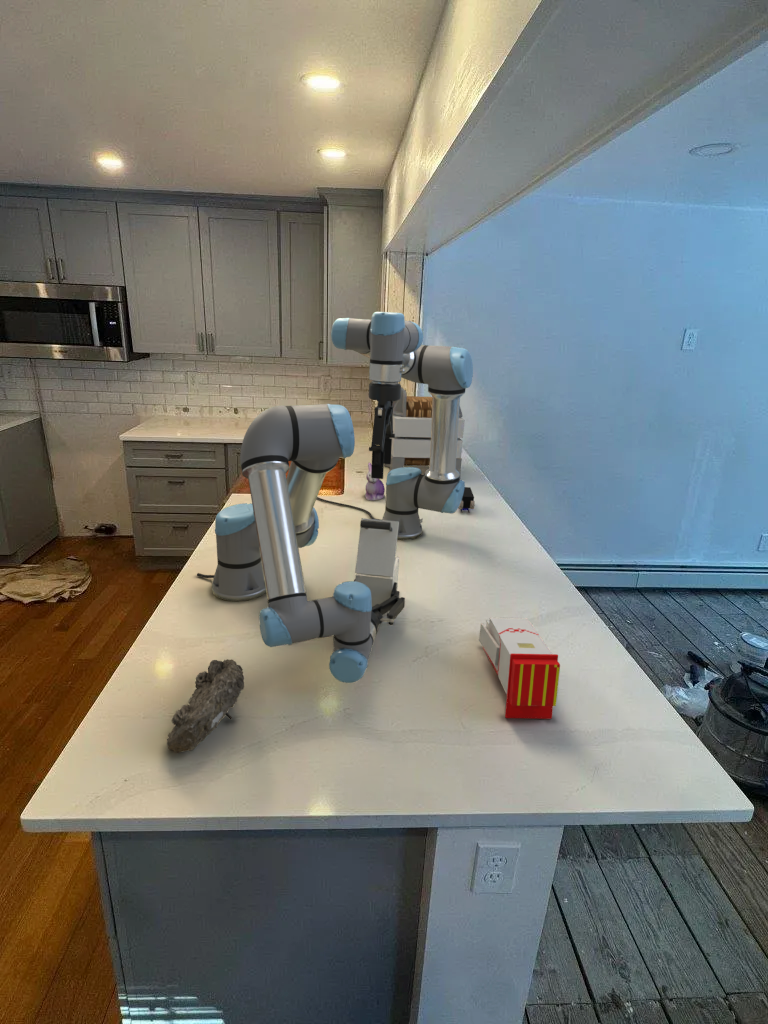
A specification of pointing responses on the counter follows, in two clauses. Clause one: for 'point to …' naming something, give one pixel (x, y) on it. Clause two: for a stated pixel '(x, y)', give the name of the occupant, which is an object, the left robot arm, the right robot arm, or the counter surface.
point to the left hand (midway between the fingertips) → (375, 585)
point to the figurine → (373, 486)
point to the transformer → (416, 432)
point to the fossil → (206, 705)
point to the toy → (522, 666)
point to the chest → (379, 584)
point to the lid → (377, 547)
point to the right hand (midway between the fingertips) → (381, 470)
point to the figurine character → (467, 500)
